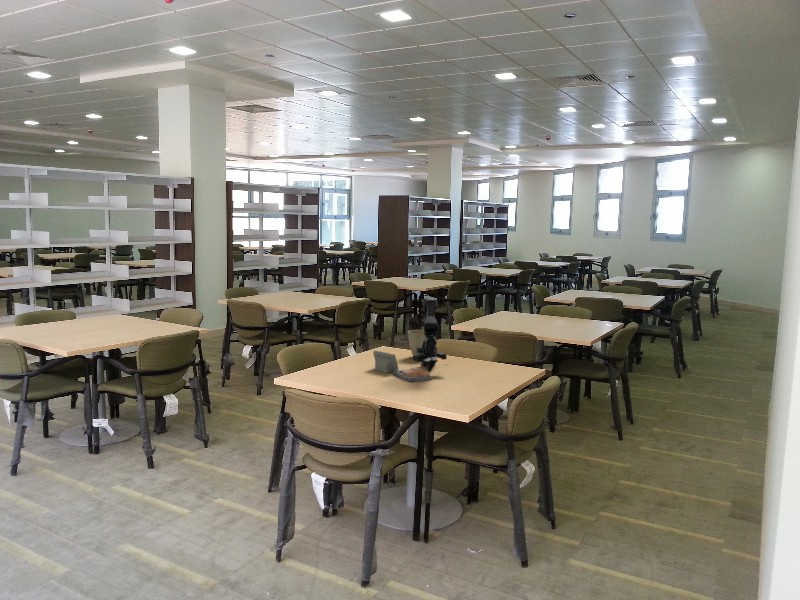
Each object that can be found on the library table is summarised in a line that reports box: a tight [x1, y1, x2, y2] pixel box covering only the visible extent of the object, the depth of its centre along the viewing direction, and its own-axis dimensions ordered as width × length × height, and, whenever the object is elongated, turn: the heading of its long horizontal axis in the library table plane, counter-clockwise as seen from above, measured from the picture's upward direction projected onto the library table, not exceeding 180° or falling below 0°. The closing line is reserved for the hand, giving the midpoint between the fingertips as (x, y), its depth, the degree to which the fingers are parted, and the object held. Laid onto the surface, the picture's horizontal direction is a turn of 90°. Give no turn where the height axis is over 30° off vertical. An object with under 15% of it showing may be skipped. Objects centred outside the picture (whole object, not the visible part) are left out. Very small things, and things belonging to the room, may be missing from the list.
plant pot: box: [407, 329, 426, 357], centre depth 393 cm, size 15×15×16 cm
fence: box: [392, 368, 432, 383], centre depth 342 cm, size 13×18×2 cm
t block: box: [402, 366, 431, 377], centre depth 343 cm, size 12×13×4 cm
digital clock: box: [372, 350, 400, 374], centre depth 356 cm, size 16×9×11 cm, turn 38°
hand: (429, 372), depth 348 cm, fingers closed
